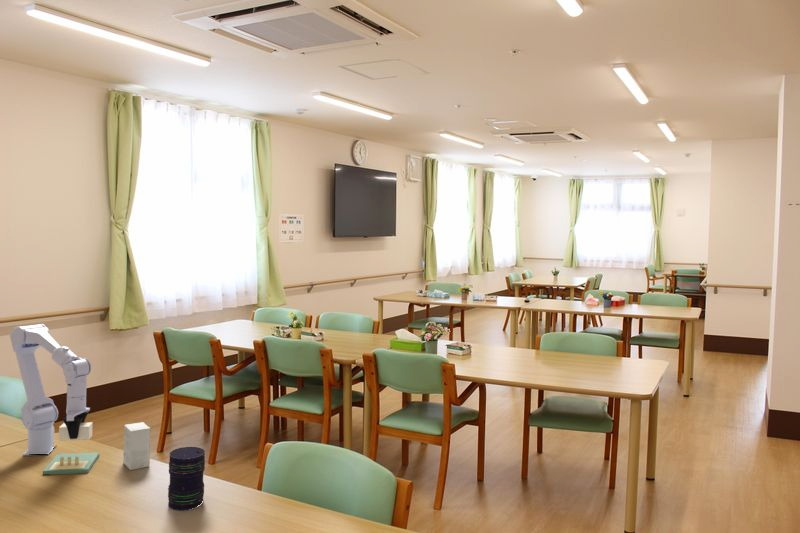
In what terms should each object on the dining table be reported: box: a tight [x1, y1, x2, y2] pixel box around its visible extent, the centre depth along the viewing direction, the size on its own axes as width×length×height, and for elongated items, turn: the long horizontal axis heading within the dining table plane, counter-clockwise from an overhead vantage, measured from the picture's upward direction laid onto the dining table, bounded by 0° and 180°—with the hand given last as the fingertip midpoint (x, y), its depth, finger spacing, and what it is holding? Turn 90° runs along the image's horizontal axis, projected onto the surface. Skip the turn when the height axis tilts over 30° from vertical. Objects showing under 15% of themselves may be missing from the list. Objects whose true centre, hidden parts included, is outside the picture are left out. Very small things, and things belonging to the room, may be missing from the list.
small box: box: [122, 421, 151, 471], centre depth 203 cm, size 8×6×13 cm
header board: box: [42, 452, 100, 475], centre depth 200 cm, size 15×13×4 cm
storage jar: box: [167, 446, 206, 512], centre depth 176 cm, size 10×10×15 cm
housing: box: [58, 421, 94, 442], centre depth 203 cm, size 5×9×4 cm, turn 103°
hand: (75, 435), depth 203 cm, fingers closed on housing, 5 cm apart
